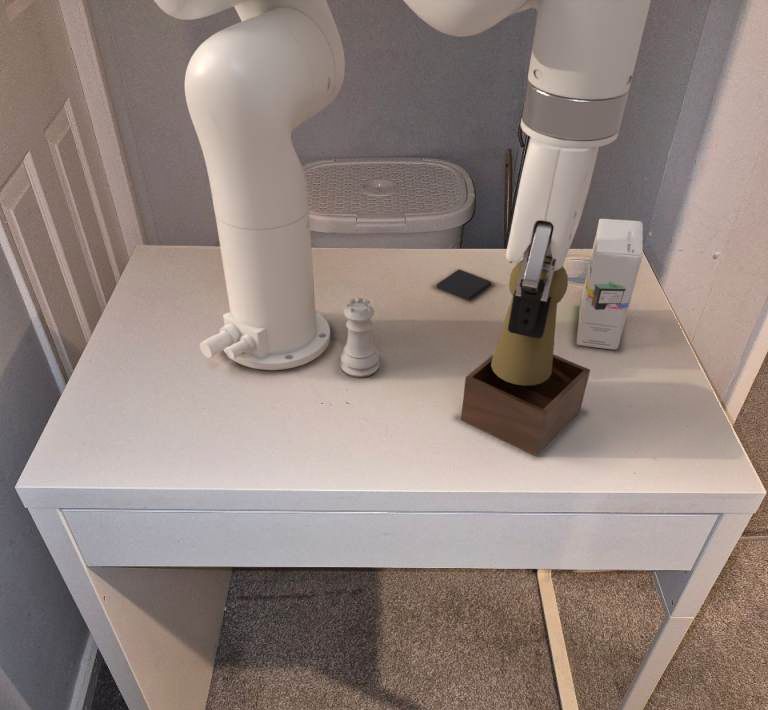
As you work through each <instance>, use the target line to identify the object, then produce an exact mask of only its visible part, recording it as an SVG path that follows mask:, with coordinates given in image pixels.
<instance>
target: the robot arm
mask: <svg viewBox="0 0 768 710" xmlns="http://www.w3.org/2000/svg"><path fill="white" fill-rule="evenodd" d="M153 1H154V3H155V4H156V5H157V6H158V7H159V9H161V10H162V11H163V12H164V13H165V14H167V15H168V16H170V17H173V18H174V19H177V20H184V21H191V20H198V19H204V18H206V17H210V16H213V15H215V14H218V13H220V12H223V11H227V10H229V9H231V8H234V9H235V11H236V13H237V15H238V17H239V19H240V22H237V23H235V24H233V25H230V26H228V27H225V28H223V29H221V30H219V31H217V32H215V33H213V34H212V35H210V36H209V37H208V38H207V39H205V40H204V41H203V42H202V43H200V45H199V46H198V47H197V48H196V50H195V51H194V53H192V55H191V57H190V59H189V61H188V63H187V67H186V69H185V75H184V96H185V102H186V106H187V110H188V113H189V116H190V119H191V122H192V125H193V127H194V130H195V134H196V136H197V139H198V142H199V145H200V148H201V151H202V155H203V158H204V159H203V160H204V162H205V166H206V171H207V175H208V181H209V187H210V193H211V198H212V203H213V204H212V205H213V210H214V211H213V212H214V217H215V222H216V229H217V234H218V242H219V248H220V254H221V261H222V268H223V273H224V280H225V287H226V293H227V299H228V306H229V311H228V312H226V313H224V314H223V315H222V317H223V323H224V324H223V326H221V327H220V328H219V332H218V333H216V334H213V335H211V336H209V337H208V338H206V339H204V340H203V341H201V342H199V350H200V351H201V354H203V356H204V357H205V358H207V359H212V358H214V357H215V356H216V355H219V354H220V353H222V352H224V354H225V355H226V356H227V358H228V359H230V360H232V361H234V362H235V363H238V364H239V365H242V366H243V367H247V368H250V369H255V370H261V371H280V370H281V371H283V370H287V369H293V368H296V367H300V366H304V365H306V364H308V363H310V362H312V361H314V360H315V359H317V358H319V357H321V355H322V354H323V353H324V352H325V351H326V350H327V348H328V347H329V345H330V342H331V327H330V324H329V322H328V320H327V319H326V318H325V316H323V315H322V314H321V313H319V312H318V311H316V301H315V284H314V283H315V282H314V267H313V251H312V235H311V222H310V207H309V205H310V204H309V192H308V184H307V178H306V174H305V170H304V168H303V164H302V163H301V160H300V159H299V156H298V154H297V152H296V149H295V147H294V144H293V139H292V133H293V130H295V129H296V128H297V127H299V126H300V125H301V124H303V123H304V122H307V121H308V120H309V119H311V118H312V117H314V116H316V115H317V114H318V113H320V112H322V111H323V110H324V109H326V108H328V107H329V105H331V104H332V103H333V102H334V101H335V100H336V99H337V96H338V95H339V93H340V91H341V89H342V87H343V83H344V80H345V73H346V57H345V52H344V46H343V43H342V39H341V35H340V33H339V29H338V27H337V24H336V22H335V19H334V17H333V14H332V11H331V8H330V7H329V5H328V2H327V0H153ZM402 1H403V2H404V3H405V4H406V6H408V8H409V9H410V10H411V11H412V12H413V13H414V14H415V15H416V16H417V17H418V18H419V19H421V20H422V21H424V23H426V24H427V25H429V26H430V27H431V28H433V29H434V30H436V31H438V32H440V33H442V34H445V35H448V36H452V37H457V38H458V37H459V38H463V37H472V36H475V35H478V34H481V33H483V32H485V31H487V30H489V29H490V28H492V27H494V26H495V25H497V24H499V23H500V22H502V21H503V20H504V19H506V18H508V17H509V16H512V15H515V14H518V13H521V12H524V11H526V10H530V9H535V10H536V11H537V16H536V21H535V28H534V34H533V41H532V49H531V54H530V59H529V67H528V74H527V81H526V87H525V93H524V98H523V99H524V100H523V105H522V113H521V119H520V128H521V130H522V131H523V132H524V134H525V135H526V136H528V137H530V138H529V142H528V145H527V149H526V154H525V158H524V161H523V166H522V171H521V175H520V179H519V185H518V189H517V195H516V200H515V206H514V211H513V216H512V221H511V225H510V231H509V237H508V242H507V246H506V252H505V256H504V257H505V259H506V261H507V262H508V264H512V263H517V264H518V263H519V262H520V261H521V260H523V261H522V266H521V271H520V275H519V280H518V285H517V289H516V290H515V292H514V297H513V296H512V297H513V303H512V308H511V314H510V320H509V325H508V331H509V332H511V333H515V334H519V335H524V336H529V337H534V338H542V336H543V333H544V329H545V325H546V320H547V315H548V311H549V306H550V302H551V297H548V296H549V292H550V287H551V283H552V279H553V275H554V271H557V270H559V269H560V268H562V266H563V267H564V264H565V261H566V258H567V256H568V253H569V251H570V248H571V246H572V244H573V240H574V238H575V235H576V233H577V231H578V230H577V229H578V227H579V224H580V221H581V217H582V215H583V211H584V208H585V204H586V202H587V201H586V200H587V197H588V194H589V190H590V186H591V181H592V178H593V174H594V169H595V166H596V162H597V157H598V153H599V148H600V147H604V146H608V145H610V144H612V143H613V142H615V141H616V140H617V139H618V138H619V133H620V128H621V124H622V121H623V117H624V116H623V115H624V112H625V108H626V104H627V100H628V96H629V93H630V89H631V84H632V80H633V75H634V71H635V67H636V63H637V59H638V55H639V51H640V46H641V42H642V38H643V34H644V31H645V27H646V22H647V18H648V13H649V10H650V6H651V3H652V0H402ZM545 258H549V259H552V261H551V263H550V262H545ZM542 271H546V272H547V274H546V279H545V283H544V280H543V279H541V273H542Z"/></svg>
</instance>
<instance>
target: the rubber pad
mask: <svg viewBox="0 0 768 710" xmlns="http://www.w3.org/2000/svg"><path fill="white" fill-rule="evenodd" d="M491 284H492V281H491V280H488V279H486V278H483V277H482V276H481V277H480V276H478V275H475V274H473V273H470V272H467V271H465V270H462V269H457V270H456V271H454V272H452V273H451V274H450V275H448V276H447V277H445V278H444V279H442V280H441V281H440V282H438V283H436V288H437V289H439V290H441V291H444V292H446V293H449V294H452V295H454V296H456V297H459V298H461V299H464V300H466V301H470V300H472V299H474V297H476V296H478V295H479V294H480V293H482V292H483V291H484V290H486V289H487V288H488V287H490V286H491Z"/></svg>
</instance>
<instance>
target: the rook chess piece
mask: <svg viewBox="0 0 768 710" xmlns="http://www.w3.org/2000/svg"><path fill="white" fill-rule="evenodd" d="M375 313H376V312H375V309H374V307H373V306H372V303H371V301H370V300H369V299H368V298H366V299H364V297H359V296H358V297H357V301H356V299H355V298H354V297H352V298H350V299H349V301H347V303H346V307H345V308H344V309H343V315H344V316H345V317H346V319H347V321H346V323H345V326H346V328H347V339H346V344H345V345H344V348H343V349H342V351H341V353H340V359H339V360H340V363H339V366H340V368H341V370H342V371H343V373H345V374H347V375H348V376H350V377H353V378H359V379H361V378H367V377H370V376H372V375H374V374H375V373H376V372H377V371H378V370H379V368H380V365H381V362H380V354H379V352H378V350H377V348H376V346H375V344H374V343H373V338H372V327H373V322H372V320H371V319H372V318H373V316H374V315H375Z"/></svg>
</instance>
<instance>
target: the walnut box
mask: <svg viewBox="0 0 768 710" xmlns="http://www.w3.org/2000/svg"><path fill="white" fill-rule="evenodd" d="M493 355H494V353H493V354H492V355H491V356H489V357H488V358H487V359H486V360H484V361H483V362H482V363H481V364H479V365H478V366H477V367H476V368H475V369H474V370H473V371H471V372H470V373H469V374H467V375H466V376H465V379H464V389H463V398H462V405H461V406H462V407H461V415H460V416H461V417H460V420H461V421H462V422H464V423H466V424H468V425H470V426H473V427H475V428H477V429H479V430H481V431H483V432H485V433H487V434H489V435H491V436H493V437H495V438H498V439H499V440H501V441H503V442H506V443H507V444H510V445H512V446H514V447H516V448H518V449H520V450H522V451H524V452H526V453H528V454H530V455H532V456H534V457H537V456H538V455H539V454H540V453H541V452H542V451H544V449H545V448H547V446H548V445H549V444H550V443H551V442H552V441H553V440H554V439H555V438H556V437H557V436H558V435H559V434H560V433H561V432H562V431H563V430H564V429H565V428H566V427H567V426H568V425H569V424H570V423H571V422H572V421H573V420H574V419H575V418H576V417H577V415H579V414H580V413H581V409H582V404H583V401H584V397H585V393H586V389H587V386H588V381H589V376H590V373H591V369H590V368H588V367H585V366H582V365H580V364H579V363H575V362H573V361H570V360H568V359H566V358H563V357H560V356H559V355H556V354H554V353H553V362H552V374H551V375H550V377H549V379H547V380H546V381H544V382H543V383H540V384H536V385H527V386H524V385H516V384H512V383H509V382H506V381H505V380H503V379H501V378H499V377H498V376H497V375H496V374H495V373H494V372H493V370H492V367H491V362H492V358H493Z"/></svg>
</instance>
